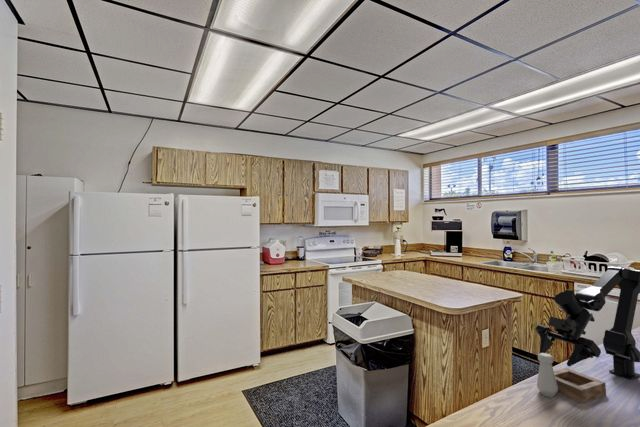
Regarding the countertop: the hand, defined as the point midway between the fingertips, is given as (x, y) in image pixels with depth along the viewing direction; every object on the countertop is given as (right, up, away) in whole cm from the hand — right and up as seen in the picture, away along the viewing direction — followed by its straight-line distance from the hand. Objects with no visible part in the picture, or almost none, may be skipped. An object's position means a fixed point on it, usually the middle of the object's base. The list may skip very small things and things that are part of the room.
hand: (553, 360), depth 109 cm
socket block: (+7, -10, 0) cm, 13 cm away
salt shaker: (-3, -11, -1) cm, 11 cm away
